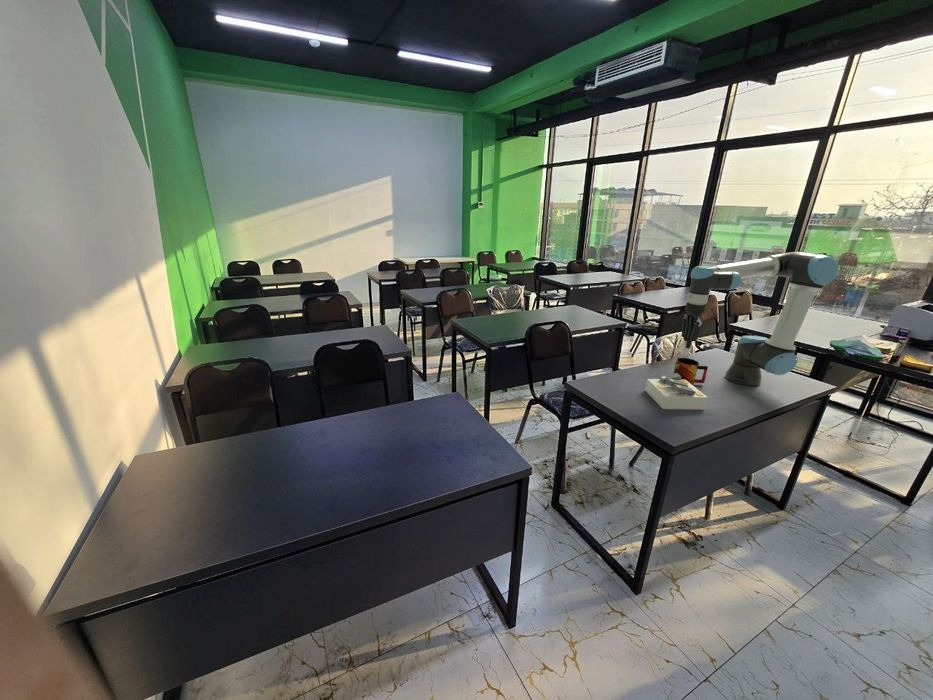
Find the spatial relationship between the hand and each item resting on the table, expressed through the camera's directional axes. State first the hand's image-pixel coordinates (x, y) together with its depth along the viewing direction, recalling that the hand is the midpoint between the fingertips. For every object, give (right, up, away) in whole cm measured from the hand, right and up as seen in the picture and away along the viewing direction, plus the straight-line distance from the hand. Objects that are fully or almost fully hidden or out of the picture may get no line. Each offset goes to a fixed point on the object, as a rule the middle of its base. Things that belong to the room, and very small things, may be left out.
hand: (684, 354), depth 178 cm
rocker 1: (-4, -11, +4) cm, 13 cm away
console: (-4, -21, +1) cm, 21 cm away
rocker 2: (-4, -13, -1) cm, 14 cm away
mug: (+11, -15, +18) cm, 26 cm away
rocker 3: (-4, -15, -7) cm, 17 cm away
